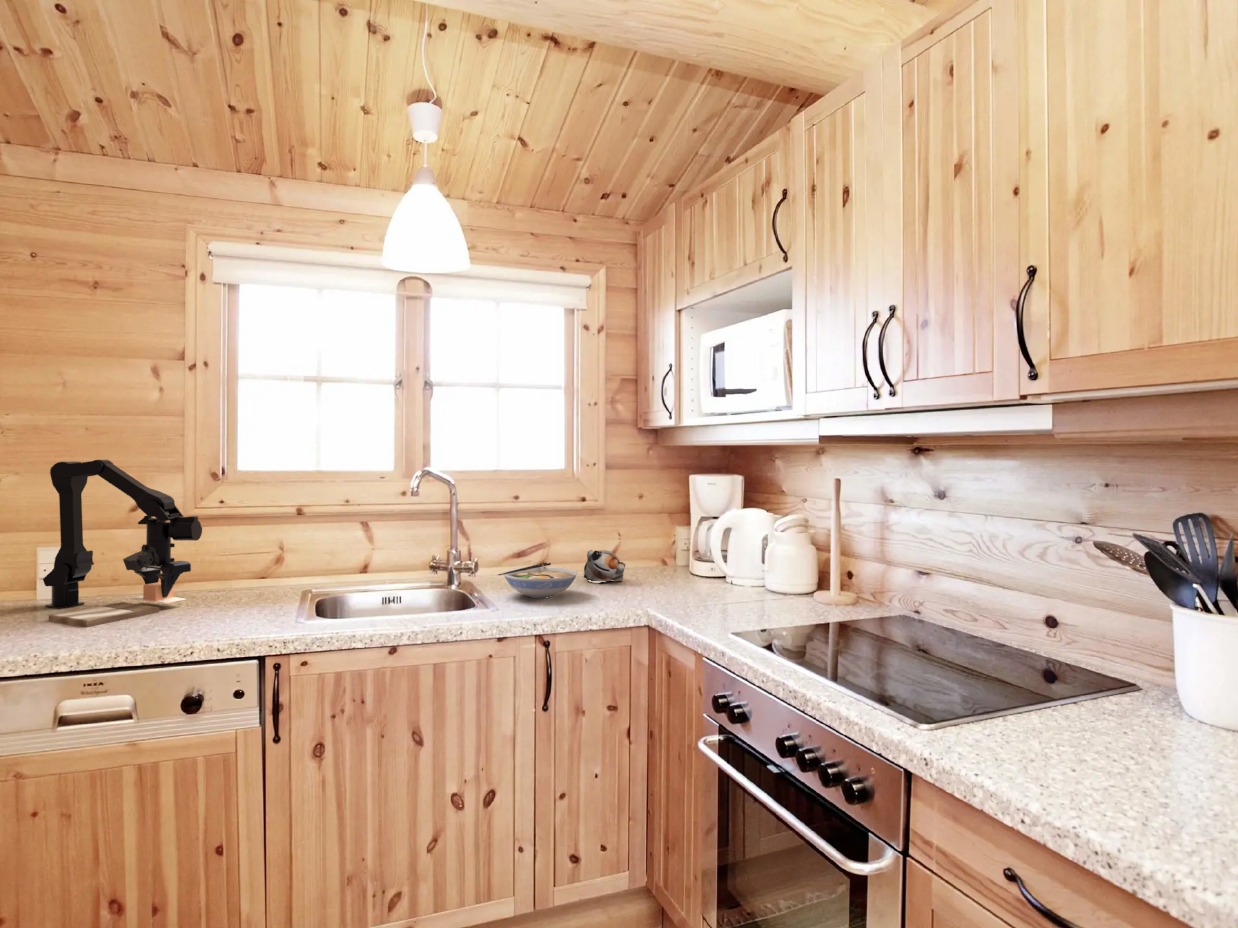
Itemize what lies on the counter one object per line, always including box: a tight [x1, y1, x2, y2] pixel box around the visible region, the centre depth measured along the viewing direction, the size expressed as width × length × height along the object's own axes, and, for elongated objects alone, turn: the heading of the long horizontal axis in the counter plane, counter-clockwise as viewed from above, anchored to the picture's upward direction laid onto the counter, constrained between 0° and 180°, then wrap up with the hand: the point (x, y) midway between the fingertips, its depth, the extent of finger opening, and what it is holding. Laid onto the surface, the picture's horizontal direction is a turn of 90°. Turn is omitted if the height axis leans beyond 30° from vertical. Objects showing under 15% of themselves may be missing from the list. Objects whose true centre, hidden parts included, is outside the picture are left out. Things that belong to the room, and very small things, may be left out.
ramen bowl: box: [497, 562, 578, 599], centre depth 218 cm, size 25×23×8 cm
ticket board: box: [48, 601, 160, 628], centre depth 184 cm, size 15×18×2 cm
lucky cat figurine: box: [583, 549, 626, 581], centre depth 243 cm, size 15×12×14 cm
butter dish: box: [130, 581, 187, 604], centre depth 196 cm, size 14×6×4 cm, turn 68°
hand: (158, 596), depth 196 cm, fingers closed on butter dish, 5 cm apart
